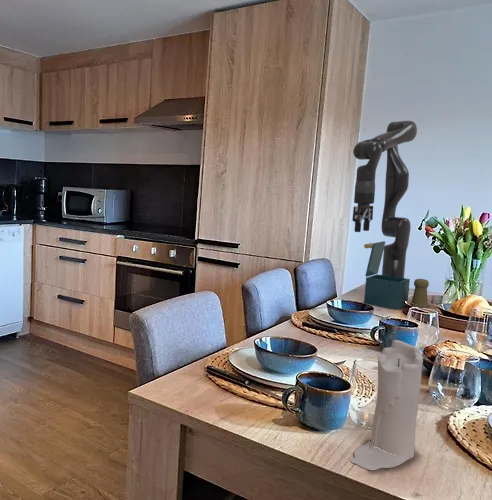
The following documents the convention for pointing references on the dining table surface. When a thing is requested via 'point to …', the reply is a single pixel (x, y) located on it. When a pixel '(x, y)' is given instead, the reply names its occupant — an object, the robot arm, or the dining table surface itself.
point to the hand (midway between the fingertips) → (361, 231)
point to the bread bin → (386, 291)
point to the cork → (420, 293)
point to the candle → (394, 408)
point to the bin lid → (374, 257)
